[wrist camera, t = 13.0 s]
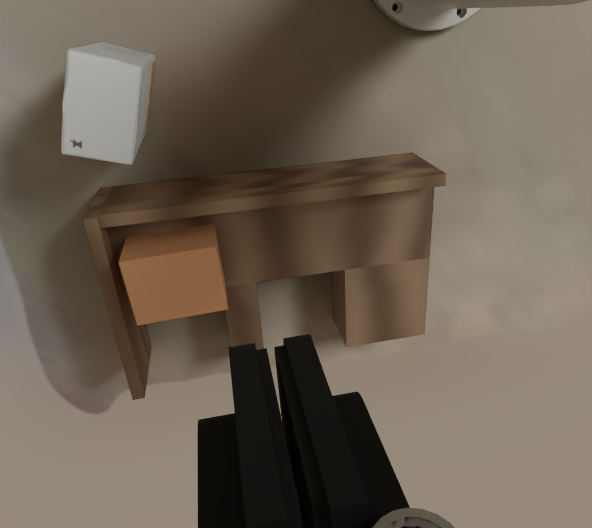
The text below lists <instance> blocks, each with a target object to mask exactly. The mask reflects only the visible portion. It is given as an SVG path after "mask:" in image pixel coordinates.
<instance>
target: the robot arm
mask: <svg viewBox="0 0 592 528" xmlns="http://www.w3.org/2000/svg"><path fill="white" fill-rule="evenodd" d="M373 1H374V2H375V4H376V5H377V7H378V8H379V9H380V10H381V11H382V12H383V13H384V14H385V15H386V16H387V17H389V18H390V19H391V20H393V21H395V22H396V23H398V24H400V25H402V26H404V27H408V28H411V29H414V30H423V31H434V30H443V29H446V28H450V27H454V26H456V25H458V24H460V23H462V22H464V21H466V20H468V19H469V18H470V17H472V16H473V15H474V14H476V13H477V12H478V11H480V10H481V9H482V8H495V7H527V6H554V5H568V4H575V3H580V2H585V1H588V0H373ZM393 4H395V5H396V10H395V11H393V10H392V6H393ZM457 9H459V14H458V15H457ZM283 343H284V346H278V347H275V359H276V369H277V378H278V388H279V397H280V407H281V415H280V410H279V406H278V401H277V396H276V391H275V387H274V382H273V377H272V372H271V368H270V363H269V358H268V353H267V349H266V348H265V349H259V350H256V346H255V343H252V344H245V345H239V346H233V347H229V357H230V367H231V378H232V388H233V399H234V408H235V413H234V414H228V415H223V416H217V417H212V418H206V419H200V420H199V421H198V528H455V527H454V526H453V525H452V524H451V523H450V522H448V521H447V520H445V519H444V518H442V517H441V516H439V515H438V514H435V513H432V512H430V511H427V510H424V509H417V508H410V507H409V505H408V503H407V500H406V498H405V496H404V493H403V491H402V489H401V486H400V484H399V482H398V479H397V477H396V475H395V473H394V470H393V468H392V466H391V463H390V461H389V459H388V456H387V454H386V452H385V450H384V447H383V445H382V443H381V440H380V438H379V436H378V433H377V431H376V429H375V426H374V424H373V422H372V420H371V417H370V415H369V413H368V410H367V408H366V406H365V404H364V401H363V399H362V397H361V395H360V394H359V393H358V392H352V393H347V394H342V395H336V396H332V394H331V391H330V388H329V386H328V383H327V380H326V377H325V375H324V372H323V369H322V366H321V363H320V360H319V358H318V355H317V352H316V349H315V346H314V344H313V341H312V338H311V336H310V335H309V334H308V335H302V336H295V337H289V338H284V341H283ZM281 416H282V420H281Z"/></svg>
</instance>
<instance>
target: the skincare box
mask: <svg viewBox="0 0 592 528" xmlns="http://www.w3.org/2000/svg"><path fill="white" fill-rule="evenodd" d="M155 58H156V56H155V55H152V54H148V53H144V52H140V51H136V50H132V49H128V48H125V47H121V46H117V45H113V44H109V43H104V42H99V43H94V44H90V45H85V46H81V47H76V48H69V49H67V51H66V63H65V82H64V94H63V101H62V135H61V153H62V154H63V155H69V156H75V157H82V158H88V159H95V160H101V161H107V162H113V163H120V164H126V165H132V164H133V161H134V159H135V157H136V154H137V152H138V150H139V147H140V145H141V143H142V140H143V138H144V136H145V133H146V131H147V129H148V118H149V107H150V98H151V89H152V81H153V73H154V66H155Z"/></svg>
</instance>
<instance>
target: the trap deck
mask: <svg viewBox="0 0 592 528" xmlns="http://www.w3.org/2000/svg"><path fill="white" fill-rule="evenodd" d="M445 182H446V173H444V172H443V171H441V170H439V169H438V168H436V167H435V166H433V165H431V164H430V163H428V162H427V161H425V160H423V159H422V158H420V157H419V156H417V155H415V154H414V153H406V154H397V155H388V156H379V157H370V158H361V159H353V160H344V161H335V162H326V163H317V164H308V165H299V166H291V167H282V168H273V169H264V170H255V171H246V172H237V173H228V174H220V175H211V176H202V177H193V178H184V179H175V180H166V181H158V182H149V183H140V184H131V185H122V186H113V187H104V188H100V189H99V191H98V193H97V195H96V197H95V198H94V200H93V202H92V204H91V205H90V207H89V209H88V211H87V213H86V214H85V216H84V218H83V223H84V227H85V230H86V234H87V237H88V241H89V245H90V248H91V252H92V255H93V259H94V262H95V266H96V270H97V273H98V277H99V280H100V284H101V288H102V291H103V295H104V298H105V302H106V305H107V309H108V313H109V316H110V320H111V323H112V327H113V330H114V334H115V338H116V341H117V345H118V348H119V352H120V355H121V359H122V363H123V366H124V370H125V373H126V377H127V380H128V384H129V388H130V391H131V395H132V398H133V400H134V399H140V398H145V391H146V384H147V376H148V369H149V362H150V355H151V344H150V340H149V336H148V331H147V327H146V324H144V325H139V326H137V323H136V320H135V316H134V313H133V309H132V306H131V303H130V299H129V296H128V293H127V289H126V286H125V283H124V279H123V276H122V273H121V269H120V266H119V259H120V256H121V253H122V250H123V247H124V244H125V240H126V238H128V237H134V236H140V235H147V234H153V233H159V232H165V231H172V230H178V229H184V228H191V227H197V226H203V225H209V224H214V226H215V231H216V236H217V242H218V247H219V252H220V257H221V263H222V268H223V273H224V279H225V285H226V294H227V304H228V310H225V312H226V319H227V326H228V332H229V339H230V345H231V347H233V346H239V345H245V344H252V343H255V346H256V350H259V349H264V347H263V338H262V330H261V321H260V312H259V304H258V295H257V286H256V282H263V281H270V280H277V279H284V278H291V277H298V276H305V275H312V274H319V273H326V272H332V278H333V307H334V321H335V323H336V325H337V327H338V329H339V332H340V334H341V336H342V338H343V340H344V343H345V345H346V347H350V346H356V345H362V344H368V343H374V342H380V341H386V340H392V339H399V338H405V337H411V336H417V335H423V334H425V319H426V304H427V289H428V274H429V259H430V244H431V229H432V213H433V198H434V187H439V186H445Z"/></svg>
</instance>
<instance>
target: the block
mask: <svg viewBox="0 0 592 528" xmlns="http://www.w3.org/2000/svg"><path fill="white" fill-rule="evenodd" d="M119 266H120V269H121V273H122V276H123V279H124V283H125V286H126V289H127V293H128V296H129V299H130V303H131V306H132V309H133V313H134V316H135V320H136V323H137V326H139V325H144V324H150V323H156V322H161V321H167V320H172V319H178V318H183V317H189V316H195V315H200V314H206V313H211V312H217V311H223V310H228V304H227V294H226V285H225V279H224V273H223V268H222V263H221V257H220V252H219V247H218V242H217V236H216V231H215V226H214V224H209V225H203V226H197V227H191V228H184V229H178V230H172V231H165V232H159V233H153V234H147V235H140V236H134V237H128V238H126V240H125V244H124V247H123V250H122V253H121V256H120V259H119Z"/></svg>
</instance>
